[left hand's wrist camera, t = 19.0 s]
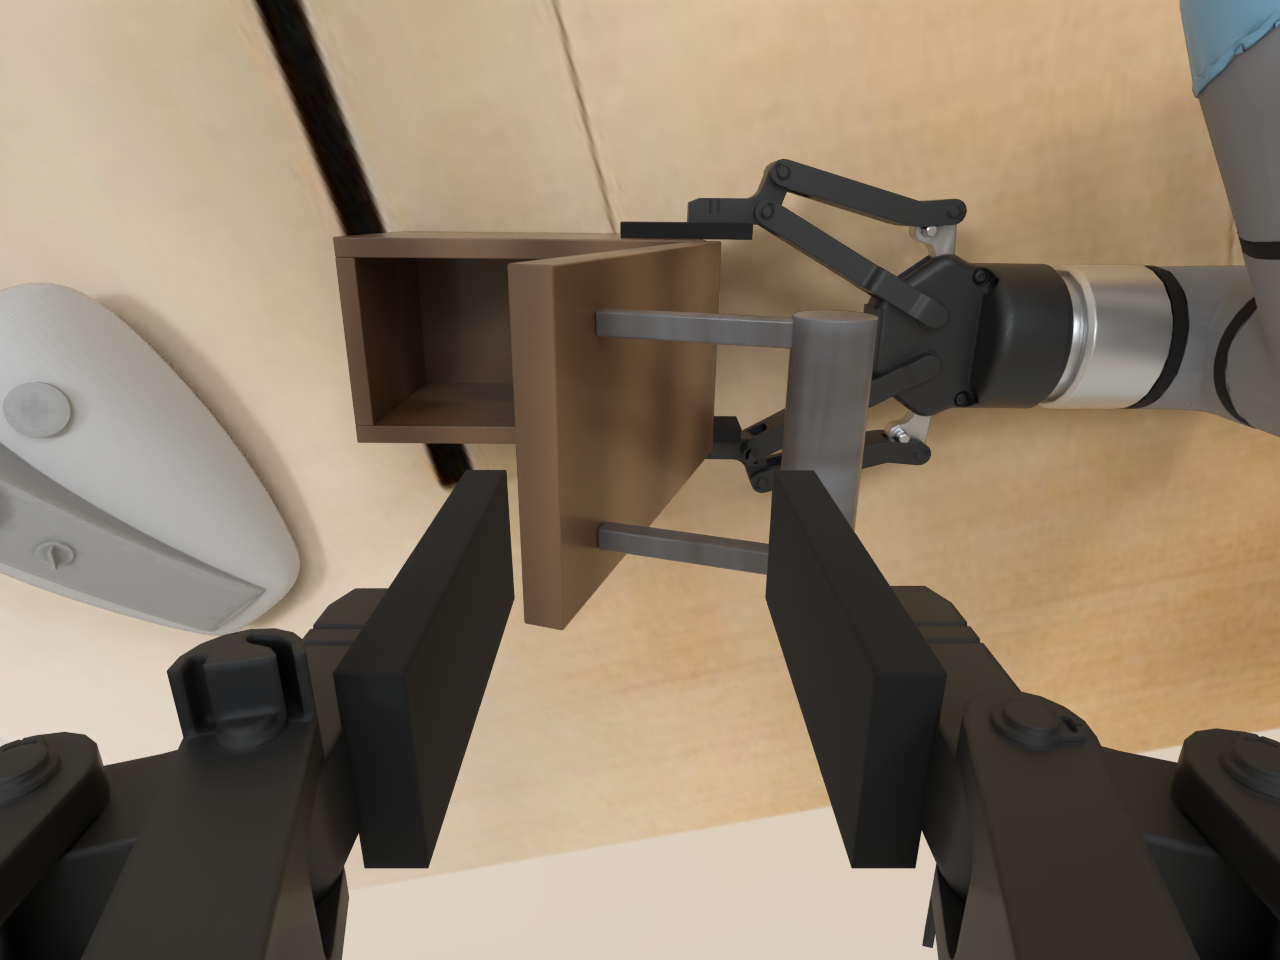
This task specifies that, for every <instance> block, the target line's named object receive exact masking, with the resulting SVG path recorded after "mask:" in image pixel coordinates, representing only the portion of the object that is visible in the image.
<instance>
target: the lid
mask: <svg viewBox="0 0 1280 960" xmlns="http://www.w3.org/2000/svg"><path fill="white" fill-rule="evenodd" d="M720 260H721V242H720V241H691V242H683V243H675V244H666V245H658V246H650V247H642V248H633V249H625V250H617V251H608V252H600V253H592V254H583V255H575V256H567V257H558V258H550V259H542V260H533V261H525V262H517V263H510V264H508V287H509V308H510V329H511V349H512V370H513V391H514V412H515V433H516V454H517V475H518V496H519V517H520V538H521V558H522V579H523V600H524V621H525V623H526V624H532V625H537V626H542V627H548V628H553V629H558V630H564V628H565V627H566V626H567V625H568V623H569V622H570V621H571V620H572V619H573V617H574V616H575V615H576V614H577V613H578V611H579V610H580V609H581V608H582V607H583V605H584V604H585V603H586V602H587V601H588V599H589V598H590V597H591V596H592V595H593V593H594V592H595V591H596V590H597V589H598V587H599V586H600V585H601V584H602V582H603V581H604V580H605V579H606V578H607V576H608V575H609V574H610V573H611V572H612V570H613V569H614V568H615V567H616V566H617V564H618V563H619V562H620V561H621V560H622V558H623V557H624V556H625V555H626V554H634V555H640V556H647V557H653V558H660V559H666V560H673V561H680V562H686V563H693V564H699V565H706V566H713V567H719V568H726V569H732V570H739V571H745V572H752V573H759V574H765V575H767V567H768V551H769V544H765V543H758V542H751V541H744V540H737V539H729V538H722V537H715V536H708V535H701V534H694V533H686V532H679V531H672V530H665V529H658V528H651V527H649V526H650V525H651V523H652V522H653V521H654V520H655V519H656V517H657V516H658V515H659V514H660V513H661V511H662V510H663V509H664V508H665V507H666V505H667V504H668V503H669V502H670V500H671V499H672V498H673V497H674V496H675V494H676V493H677V492H678V491H679V490H680V488H681V487H682V486H683V485H684V484H685V482H686V481H687V480H688V479H689V478H690V476H691V475H692V474H693V473H694V472H695V470H696V469H697V468H698V467H699V466H700V464H701V463H702V462H703V461H704V459H705V458H706V457H707V456H708V455H709V453H710V452H711V451H712V444H713V421H714V398H715V375H716V352H717V344H727V345H743V346H759V347H775V348H790V356H789V369H788V382H787V395H786V408H785V422H784V435H783V448H782V461H781V470H814V471H815V473H816V474H817V476H818V477H819V479H820V480H821V482H822V483H823V485H824V486H825V488H826V489H827V491H828V492H829V494H830V495H831V497H832V499H833V500H834V502H835V503H836V505H837V506H838V508H839V509H840V511H841V512H842V514H843V515H844V517H845V518H846V520H847V521H848V523H849V524H850V526H851V527H852V529H853V531H854V530H855V521H856V512H857V504H858V495H859V486H860V477H861V468H862V460H863V451H864V442H865V433H866V425H867V416H868V407H869V398H870V389H871V381H872V372H873V363H874V354H875V345H876V337H877V328H878V317H877V316H875V315H872V314H867V313H861V312H852V311H836V310H811V311H801V312H796V313H794V314H793V316H792V318H790V317H770V316H750V315H730V314H718V306H719V283H720Z"/></svg>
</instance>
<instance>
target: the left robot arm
mask: <svg viewBox="0 0 1280 960" xmlns="http://www.w3.org/2000/svg"><path fill="white" fill-rule="evenodd" d="M513 601H514V582H513V567H512V551H511V536H510V520H509V505H508V489H507V474H506V470H466V471H465V473H464V474H463V476H462V477H461V479H460V480H459V482H458V483H457V485H456V486H455V488H454V489H453V491H452V492H451V494H450V495H449V497H448V499H447V500H446V502H445V503H444V505H443V506H442V508H441V509H440V511H439V512H438V514H437V515H436V517H435V518H434V520H433V521H432V523H431V524H430V526H429V527H428V529H427V531H426V532H425V534H424V535H423V537H422V538H421V540H420V541H419V543H418V544H417V546H416V547H415V549H414V550H413V552H412V553H411V555H410V556H409V558H408V559H407V561H406V563H405V564H404V566H403V567H402V569H401V570H400V572H399V573H398V575H397V576H396V578H395V579H394V581H393V582H392V584H391V585H390V587H389V588H355V589H354V590H352V591H351V592H349V593H347V594H346V595H344V596H343V597H341V598H340V599H338V600H336V601H335V602H333V603H332V604H330V605H329V606H328V607H327V608H326V610H325V611H324V612H323V613H322V615H321V616H320V617H319V619H318V620H317V621H316V622H315V624H314V625H313V629H310V630H309V631H308V633H307V634H306V635H305V637H304V638H303V639H301V638H300V637H299V636H297V635H296V634H295V633H293V632H289V631H284V630H280V629H275V628H273V629H250V630H245V631H240V632H235V633H231V634H226V635H223V636H220V637H218V638H215V639H213V640H210V641H207V642H205V643H202V644H200V645H198V646H197V647H195V648H193V649H192V650H190V651H188V652H187V653H185V654H183V655H182V656H180V657H179V658H178V659H177V660H176V661H175V663H174V664H173V665H172V666H171V667H170V668H169V669H168V670H167V674H168V678H169V682H170V686H171V690H172V694H173V698H174V702H175V706H176V710H177V714H178V718H179V721H180V725H181V729H182V733H183V737H184V738H183V740H182V742H181V744H180V746H179V748H178V750H175V751H172V752H168V753H164V754H160V755H155V756H150V757H145V758H140V759H135V760H130V761H126V762H121V763H116V764H111V765H106V766H103V763H102V760H101V756H100V753H99V750H98V746H97V743H95V742H94V741H93V740H91V739H90V738H89V737H87V736H86V735H83V734H76V733H69V732H60V733H52V734H44V735H36V736H31V737H27V738H23V740H16V741H14V742H11V743H8V744H5V745H3V746H1V747H0V960H342V953H343V944H344V935H345V927H346V918H347V910H348V901H349V894H348V887H347V880H346V874H345V869H344V865H345V862H346V860H347V858H348V856H349V853H350V851H351V849H352V847H353V845H354V842H355V840H356V838H357V836H358V833H359V837H360V843H361V849H362V855H363V861H364V867H365V868H428V867H429V864H430V861H431V858H432V855H433V852H434V849H435V846H436V842H437V839H438V836H439V833H440V830H441V827H442V824H443V820H444V817H445V814H446V811H447V808H448V805H449V802H450V799H451V795H452V792H453V789H454V786H455V783H456V780H457V777H458V774H459V770H460V767H461V764H462V761H463V758H464V755H465V752H466V748H467V745H468V742H469V739H470V736H471V733H472V730H473V727H474V723H475V720H476V717H477V714H478V711H479V708H480V705H481V702H482V698H483V695H484V692H485V689H486V686H487V683H488V680H489V676H490V673H491V670H492V667H493V664H494V661H495V658H496V655H497V651H498V648H499V645H500V642H501V639H502V636H503V633H504V630H505V626H506V623H507V620H508V617H509V614H510V611H511V608H512V604H513ZM766 601H767V604H768V608H769V611H770V614H771V617H772V620H773V623H774V626H775V630H776V633H777V636H778V639H779V642H780V645H781V648H782V651H783V655H784V658H785V661H786V664H787V667H788V670H789V673H790V676H791V680H792V683H793V686H794V689H795V692H796V695H797V698H798V702H799V705H800V708H801V711H802V714H803V717H804V720H805V723H806V727H807V730H808V733H809V736H810V739H811V742H812V745H813V748H814V752H815V755H816V758H817V761H818V764H819V767H820V770H821V774H822V777H823V780H824V783H825V786H826V789H827V792H828V795H829V799H830V802H831V805H832V808H833V811H834V814H835V817H836V821H837V824H838V827H839V830H840V833H841V836H842V839H843V842H844V846H845V849H846V852H847V855H848V858H849V861H850V864H851V867H852V868H915V867H916V861H917V855H918V849H919V842H920V837H921V831H922V832H923V834H924V836H925V839H926V841H927V843H928V845H929V847H930V849H931V852H932V854H933V856H934V858H935V861H936V869H935V874H934V880H933V886H932V891H931V897H930V903H929V908H928V914H927V920H926V925H925V931H924V938H923V946H926V947H930V948H933V943H934V938H935V934H936V942H937V951H938V959H939V960H1280V743H1279V742H1277V741H1275V740H1272V739H1269V738H1266V737H1263V736H1262V737H1259V736H1258V735H1256V734H1252V733H1247V732H1241V731H1233V730H1224V729H1209V730H1202V731H1196V732H1194V733H1193V734H1192V735H1190V736H1189V737H1188V738H1186V739H1185V740H1184V743H1183V746H1182V750H1181V753H1180V756H1179V760H1178V763H1176V762H1171V761H1166V760H1161V759H1156V758H1151V757H1146V756H1141V755H1137V754H1132V753H1127V752H1122V751H1117V750H1114V749H1110V748H1106V747H1102V746H1101V745H1100V743H1099V741H1098V739H1097V736H1096V735H1095V734H1094V733H1093V731H1092V730H1091V729H1090V727H1089V726H1088V725H1087V723H1086V722H1085V721H1084V720H1082V719H1081V718H1080V717H1078V716H1077V715H1076V714H1074V713H1073V712H1071V711H1070V710H1069V709H1067V708H1066V707H1064V706H1062V705H1059V704H1057V703H1055V702H1053V701H1050V700H1048V699H1046V698H1044V697H1041V696H1037V695H1033V694H1029V693H1025V692H1021V691H1020V689H1019V688H1018V687H1017V686H1016V684H1015V683H1014V682H1013V680H1012V679H1011V678H1010V677H1009V675H1008V674H1007V673H1006V672H1005V670H1004V669H1003V668H1002V666H1001V665H1000V664H999V663H998V661H997V660H996V659H995V658H994V656H993V655H992V654H991V652H990V651H989V650H988V649H987V647H986V646H985V645H984V643H980V638H979V637H978V636H977V635H976V633H975V632H974V631H973V629H972V628H971V627H970V626H967V622H966V621H965V619H964V618H963V617H962V615H961V614H960V613H959V612H958V610H957V609H956V608H955V606H954V605H953V604H952V603H951V602H950V601H948V600H946V599H945V598H943V597H942V596H940V595H938V594H937V593H935V592H934V591H932V590H930V589H929V588H927V587H926V586H890V585H889V584H888V582H887V581H886V579H885V578H884V576H883V575H882V573H881V572H880V570H879V569H878V567H877V566H876V564H875V563H874V561H873V559H872V558H871V556H870V555H869V553H868V552H867V550H866V549H865V547H864V546H863V544H862V543H861V541H860V540H859V538H858V537H857V535H856V534H855V532H854V531H853V529H852V527H851V526H850V524H849V523H848V521H847V520H846V518H845V517H844V515H843V514H842V512H841V511H840V509H839V508H838V506H837V505H836V503H835V502H834V500H833V499H832V497H831V495H830V494H829V492H828V491H827V489H826V488H825V486H824V485H823V483H822V482H821V480H820V479H819V477H818V476H817V474H816V473H815V471H814V470H774V474H773V489H772V505H771V520H770V536H769V551H768V567H767V582H766Z"/></svg>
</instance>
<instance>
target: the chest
mask: <svg viewBox="0 0 1280 960" xmlns="http://www.w3.org/2000/svg"><path fill="white" fill-rule="evenodd" d="M333 241H334V249H335V256H336V266H337V275H338V283H339V291H340V299H341V308H342V316H343V324H344V332H345V341H346V349H347V357H348V365H349V374H350V382H351V390H352V398H353V407H354V415H355V423H356V432H357V440H358V442H359V443H479V444H516V433H515V412H514V391H513V370H512V349H511V329H510V308H509V287H508V264H510V263H517V262H525V261H533V260H542V259H550V258H558V257H567V256H575V255H583V254H592V253H600V252H608V251H617V250H625V249H633V248H642V247H650V246H658V245H666V244H675V243H683V242H691V241H705V240H703V239H698V238H621V234H613V233H509V232H405V231H404V232H391V233H378V234H366V235H353V236H341V237H333Z"/></svg>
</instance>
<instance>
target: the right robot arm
mask: <svg viewBox="0 0 1280 960" xmlns="http://www.w3.org/2000/svg"><path fill="white" fill-rule="evenodd" d="M1180 11H1181V17H1182V23H1183V29H1184V34H1185V40H1186V46H1187V52H1188V57H1189V63H1190V69H1191V75H1192V80H1193V84H1192V90H1193V93H1194V96H1195V97H1196V98H1199V101H1200V104H1201V108H1202V111H1203V115H1204V118H1205V122H1206V125H1207V128H1208V132H1209V135H1210V139H1211V142H1212V145H1213V149H1214V152H1215V156H1216V159H1217V163H1218V166H1219V169H1220V173H1221V176H1222V180H1223V183H1224V186H1225V190H1226V193H1227V197H1228V200H1229V203H1230V207H1231V210H1232V214H1233V217H1234V221H1235V224H1236V227H1237V233H1238V236H1239V240H1240V243H1241V247H1242V252H1243V256H1244V260H1245V264H1246V266H1178V267H1156V266H1143V265H1093V264H1064V265H1058V266H1056V267H1054V268H1052V267H1050V266H1049V265H1045V264H996V263H968V262H966V261H964V260H962V259H961V258H959V257H958V256H956V255H955V241H956V227H957V224H958V223H960V222H961V221H962V220H963V219H964V217H965V215H966V212H967V210H966V205H965V204H964V202H963V201H961V200H959V199H943V200H927V201H917V200H914V199H911V198H908V197H904V196H901V195H898V194H895V193H892V192H889V191H885V190H882V189H879V188H876V187H873V186H870V185H867V184H863V183H860V182H857V181H854V180H851V179H848V178H844V177H841V176H838V175H835V174H832V173H829V172H825V171H822V170H819V169H816V168H813V167H810V166H807V165H803V164H800V163H797V162H794V161H791V160H788V159H781V160H778V161H775V162H773V163H770V164H769V165H768V166H767V167H766V169H765V170H764V176H763V178H762V181H761V183H760V186H759V188H758V190H757V192H756V193H755V194H754V195H753V196H752V197H750V198H747V199H732V198H698V199H696V200H693V201H691V202H688V214H687V222H621V238H698V239H732V240H752V233H753V224H757V225H759V226H760V227H762V228H764V229H765V230H767V231H768V232H770V233H772V234H773V235H775V236H776V237H778V238H780V239H781V240H783V241H784V242H786V243H788V244H789V245H791V246H793V247H794V248H796V249H797V250H799V251H801V252H802V253H804V254H805V255H807V256H809V257H810V258H812V259H813V260H815V261H817V262H818V263H820V264H822V265H823V266H825V267H826V268H828V269H830V270H831V271H833V272H834V273H836V274H838V275H839V276H841V277H842V278H844V279H846V280H847V281H849V282H850V283H852V284H853V285H854V286H856V287H858V288H859V289H861V290H862V291H864V292H866V293H867V294H869V295H870V296H872V297H871V298H870V300H869V302H868V304H865V305H864V313H867V314H872V315H875V316H877V317H878V328H877V337H876V345H875V354H874V363H873V372H872V381H871V389H870V398H869V407H872V406H874V405H876V404H878V403H880V402H882V401H884V400H886V399H888V398H890V397H894V398H895V399H896V400H897V401H899V402H900V403H901V404H903V405H904V406H905V407H906V408H908V412H907V414H906V416H905V417H903V418H902V419H900V420H895V421H892V422H890V423H889V424H887V426H886V428H885V430H873V431H867V432H866V433H865V442H864V451H863V460H862V468H861V469H863V468H867V467H871V466H875V465H879V464H883V463H887V462H888V463H899V464H911V465H922V464H924V463H926V462H927V461H928V460H929V459H930V456H931V451H930V448H929V447H928V446H927V445H925V442H926V437H927V433H928V428H929V424H930V419H931V416H932V415H935V414H937V413H939V412H941V411H944V410H946V409H949V408H955V407H963V408H1031V407H1034V406H1036V405H1039V406H1041V407H1043V408H1052V409H1119V408H1127V409H1133V408H1134V409H1138V408H1145V409H1176V410H1195V411H1202V412H1208V413H1212V414H1215V415H1218V416H1221V417H1224V418H1227V419H1229V420H1232V421H1235V422H1237V423H1240V424H1243V425H1246V426H1249V427H1252V428H1255V429H1259V430H1262V431H1265V432H1268V433H1270V434H1273V435H1276V436H1278V437H1280V0H1180ZM787 192H789V193H793V194H796V195H799V196H802V197H805V198H809V199H812V200H815V201H818V202H821V203H825V204H828V205H831V206H834V207H837V208H841V209H844V210H847V211H850V212H853V213H857V214H860V215H863V216H866V217H869V218H873V219H876V220H879V221H882V222H885V223H889V224H893V225H900V226H909V233H910V237H911V238H912V239H913V240H914V241H916V242H920V243H923V244H925V245H926V246H927V248H928V250H929V255H928V256H927V257H925V258H924V259H922V260H921V261H919V262H918V263H916V264H915V265H913V266H912V267H910V268H909V269H907V270H906V271H904V272H903V273H901V274H900V275H898V276H897V277H896V276H895V275H893V274H891V273H890V272H888V271H887V270H885V269H883V268H881V267H879V266H877V265H875V264H874V263H872V262H871V261H869V260H867V259H866V258H864V257H863V256H861V255H859V254H858V253H856V252H855V251H853V250H851V249H850V248H848V247H847V246H845V245H844V244H842V243H840V242H839V241H837V240H836V239H834V238H832V237H831V236H829V235H828V234H826V233H824V232H823V231H821V230H820V229H818V228H816V227H815V226H813V225H812V224H810V223H809V222H807V221H805V220H804V219H802V218H801V217H799V216H797V215H796V214H794V213H793V212H791V211H789V210H788V209H786V208H785V207H783V206H782V202H783V200H784V197H785V195H786V193H787ZM869 407H868V408H869ZM784 422H785V409H783V410H781V411H779V412H777V413H775V414H773V415H771V416H769V417H768V418H766V419H764V420H762V421H760V422H758V423H756V424H754V425H752V426H750V427H748V428H746V429H744V430H742V429H741V427H740V424H739V422H738V420H737V418H736V416H714V421H713V444H712V451H711V452H710V453H709V455H708V456H707V457H706V458H705V459H735V460H739V461H740V462H742V463H743V464H744V465H745V468H746V472H747V475H748V477H749V480H750V483H751V485H752V487H753V489H754V490H755V491H756V492H759V493H765V492H769V491H772V489H773V474H774V470H781V461H782V453H778V454H774V455H770V454H772V453H774V452H776V451H778V450H780V449H782V448H783V435H784ZM768 455H770V456H768Z"/></svg>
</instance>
